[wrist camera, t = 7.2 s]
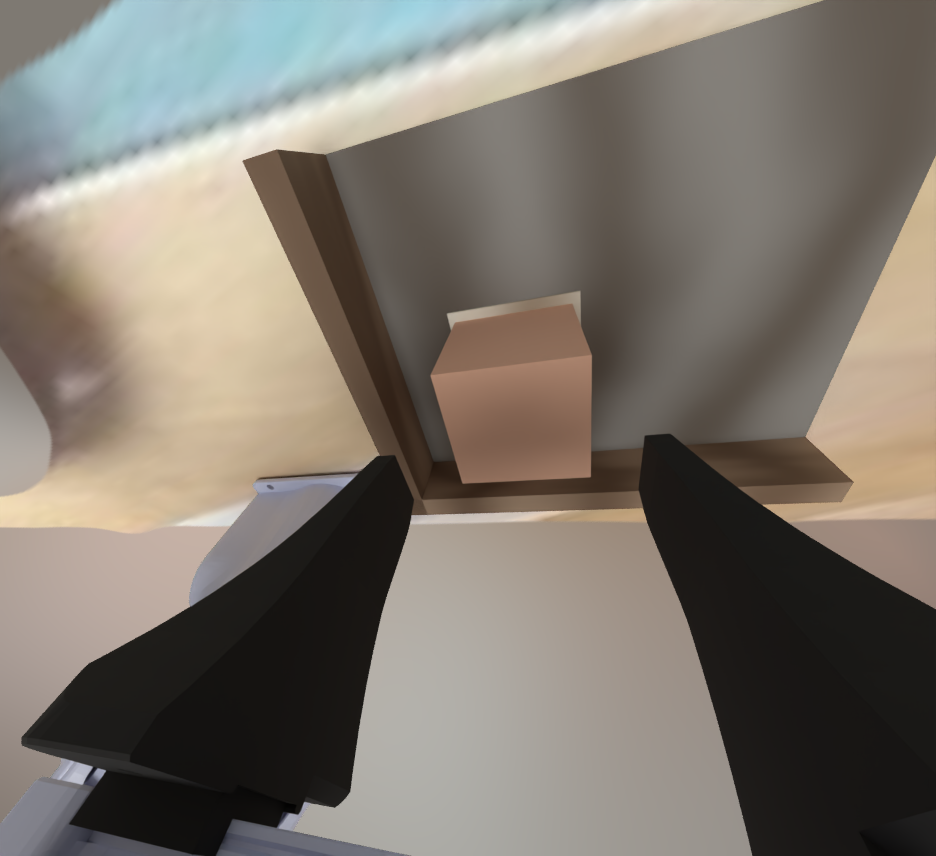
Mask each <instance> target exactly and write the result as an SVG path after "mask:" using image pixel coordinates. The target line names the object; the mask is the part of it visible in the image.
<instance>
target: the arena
mask: <svg viewBox="0 0 936 856" xmlns="http://www.w3.org/2000/svg"><path fill="white" fill-rule="evenodd" d="M935 156H936V0H824V1H821V2H817V3H814V4H811V5H808V6H804V7H801V8H798V9H795V10H792V11H788V12H785V13H782V14H779V15H775V16H772V17H769V18H766V19H762V20H759V21H756V22H753V23H750V24H746V25H743V26H740V27H737V28H733V29H730V30H727V31H724V32H720V33H717V34H714V35H711V36H708V37H704V38H701V39H698V40H695V41H691V42H688V43H685V44H682V45H678V46H675V47H672V48H669V49H666V50H662V51H659V52H656V53H653V54H649V55H646V56H643V57H640V58H636V59H633V60H630V61H627V62H624V63H620V64H617V65H614V66H611V67H607V68H604V69H601V70H598V71H594V72H591V73H588V74H585V75H582V76H578V77H575V78H572V79H569V80H565V81H562V82H559V83H556V84H552V85H549V86H546V87H543V88H540V89H536V90H533V91H530V92H527V93H523V94H520V95H517V96H514V97H510V98H507V99H504V100H501V101H498V102H494V103H491V104H488V105H485V106H481V107H478V108H475V109H472V110H468V111H465V112H462V113H459V114H456V115H452V116H449V117H446V118H443V119H439V120H436V121H433V122H430V123H426V124H423V125H420V126H417V127H414V128H410V129H407V130H404V131H401V132H397V133H394V134H391V135H388V136H384V137H381V138H378V139H375V140H372V141H368V142H365V143H362V144H359V145H355V146H352V147H349V148H346V149H342V150H339V151H336V152H333V153H330V154H326V155H324V154H314V153H305V152H295V151H286V150H274V151H271V152H268V153H265V154H261V155H258V156H255V157H252V158H249V159H246V160H243V163H244V165H245V167H246V170H247V172H248V174H249V176H250V178H251V180H252V182H253V185H254V187H255V189H256V191H257V193H258V195H259V197H260V200H261V202H262V204H263V206H264V208H265V210H266V212H267V215H268V217H269V219H270V221H271V223H272V225H273V227H274V230H275V232H276V234H277V236H278V238H279V240H280V242H281V245H282V247H283V249H284V251H285V253H286V255H287V257H288V260H289V262H290V264H291V266H292V268H293V270H294V272H295V274H296V277H297V279H298V281H299V283H300V285H301V287H302V289H303V292H304V294H305V296H306V298H307V300H308V302H309V304H310V307H311V309H312V311H313V313H314V315H315V317H316V319H317V322H318V324H319V326H320V328H321V330H322V332H323V334H324V337H325V339H326V341H327V343H328V345H329V347H330V349H331V352H332V354H333V356H334V358H335V360H336V362H337V364H338V367H339V369H340V371H341V373H342V375H343V377H344V379H345V382H346V384H347V386H348V388H349V390H350V392H351V394H352V397H353V399H354V401H355V403H356V405H357V407H358V409H359V412H360V414H361V416H362V418H363V420H364V422H365V424H366V427H367V429H368V431H369V433H370V435H371V437H372V439H373V442H374V444H375V446H376V448H377V450H378V452H379V454H380V456H387V455H395V456H396V459H397V461H398V463H399V466H400V468H401V470H402V472H403V475H404V477H405V479H406V482H407V484H408V486H409V489H410V491H411V493H412V496H413V498H414V503H413V509H412V515H434V514H466V513H499V512H532V511H564V510H597V509H630V508H643V505H642V501H641V498H640V494H639V490H638V488H639V480H640V471H641V463H642V454H643V446H644V437H645V435H657V434H671V435H673V436H674V437H675V438H676V439H678V440H679V441H680V442H681V443H683V444H684V445H685V446H686V447H687V448H689V449H690V450H691V451H692V452H694V453H695V454H696V455H697V456H698V457H700V458H701V459H702V460H703V461H705V462H706V463H707V464H708V465H710V466H711V467H712V468H713V469H715V470H716V471H717V472H718V473H720V474H721V475H722V476H723V477H725V478H726V479H727V480H729V481H730V482H731V483H733V484H734V485H735V486H737V487H738V488H739V489H741V490H742V491H743V492H745V493H746V494H747V495H749V496H750V497H751V498H753V499H754V500H756V501H757V502H758V503H760V504H793V503H826V502H842V500H843V499H844V497H845V495H846V494H847V492H848V491H849V489H850V488H851V486H852V484H853V483H854V482H853V481H852V480H851V479H850V478H849V477H848V476H847V475H846V474H844V473H843V472H842V471H841V470H840V469H839V468H838V467H837V466H836V465H835V464H834V463H833V462H832V461H830V460H829V459H828V458H827V457H826V456H825V455H824V454H823V453H822V452H821V451H820V450H819V449H818V448H816V447H815V446H814V445H813V444H812V443H811V442H810V441H809V440H808V439H807V438H806V437H805V436H806V434H807V432H808V430H809V428H810V425H811V423H812V421H813V419H814V417H815V415H816V413H817V410H818V408H819V406H820V404H821V402H822V400H823V397H824V395H825V393H826V391H827V389H828V387H829V384H830V382H831V380H832V378H833V376H834V374H835V372H836V369H837V367H838V365H839V363H840V361H841V359H842V356H843V354H844V352H845V350H846V348H847V346H848V344H849V341H850V339H851V337H852V335H853V333H854V331H855V328H856V326H857V324H858V322H859V320H860V318H861V315H862V313H863V311H864V309H865V307H866V305H867V303H868V300H869V298H870V296H871V294H872V292H873V290H874V287H875V285H876V283H877V281H878V279H879V277H880V274H881V272H882V270H883V268H884V266H885V264H886V262H887V259H888V257H889V255H890V253H891V251H892V249H893V246H894V244H895V242H896V240H897V238H898V236H899V233H900V231H901V229H902V227H903V225H904V223H905V221H906V218H907V216H908V214H909V212H910V210H911V208H912V205H913V203H914V201H915V199H916V197H917V195H918V193H919V190H920V188H921V186H922V184H923V182H924V180H925V177H926V175H927V173H928V171H929V169H930V167H931V164H932V162H933V160H934V158H935ZM566 304H573V307H574V309H575V312H576V315H577V317H578V320H579V322H580V325H581V328H582V330H583V333H584V336H585V338H586V341H587V344H588V346H589V349H590V351H591V354H592V396H591V477H586V478H566V479H546V480H525V481H505V482H485V483H465V484H463V483H462V480H461V477H460V473H459V470H458V467H457V463H456V460H455V456H454V453H453V450H452V446H451V443H450V440H449V436H448V433H447V430H446V426H445V423H444V420H443V416H442V413H441V409H440V406H439V403H438V399H437V396H436V393H435V389H434V386H433V383H432V379H431V376H430V375H431V373H432V371H433V369H434V367H435V364H436V362H437V360H438V358H439V356H440V354H441V352H442V349H443V347H444V345H445V343H446V341H447V339H448V337H449V334H450V332H451V330H452V328H453V326H454V324H455V322H461V321H467V320H473V319H479V318H486V317H492V316H498V315H504V314H510V313H516V312H523V311H529V310H535V309H541V308H547V307H554V306H560V305H566Z"/></svg>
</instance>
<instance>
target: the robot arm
mask: <svg viewBox="0 0 936 856" xmlns="http://www.w3.org/2000/svg"><path fill="white" fill-rule="evenodd" d="M253 487H254V489H255V490H256V491H257V493H258V495H257V496H256V497H255V498H254V499H253V501H252V502H251V503H250V504H249V505H248V506H247V508H246V509H245V510H244V511H243V512H242V514H241V515H240V516H239V517H238V518H237V520H236V521H235V522H234V523H233V524H232V526H231V527H230V528H229V529H228V531H227V532H226V533H225V534H224V535H223V537H222V538H221V539H220V540H219V541H218V542H217V544H216V545H215V546H214V547H213V549H212V550H211V551H210V552H209V553H208V554H207V556H206V557H205V558H204V560H203V561H202V563H201V564H200V566H199V568H198V569H197V571H196V574H195V576H194V578H193V582H192V585H191V589H190V596H189V603H190V607H189V608H187V609H186V610H184V611H182V612H181V613H179V614H177V615H176V616H174V617H172V618H171V619H169V620H167V621H166V622H164V623H162V624H160V625H159V626H157V627H155V628H154V629H152V630H150V631H148V632H146V633H145V634H143V635H141V636H139V637H137V638H135V639H134V640H132V641H130V642H128V643H126V644H125V645H123V646H121V647H119V648H117V649H115V650H114V651H112V652H110V653H108V654H106V655H104V656H103V657H101V658H99V659H97V660H95V661H93V662H91V663H89V664H88V665H87V666H86V667H85V668H84V669H83V670H82V671H81V672H80V673H79V674H78V675H77V676H76V677H75V678H74V679H73V681H72V682H71V683H70V684H69V685H68V686H67V687H66V689H65V690H64V691H63V692H62V693H61V694H60V695H59V696H58V697H57V698H56V700H55V701H54V702H53V703H52V704H51V705H50V706H49V707H48V709H47V710H46V711H45V712H44V713H43V714H42V715H41V716H40V717H39V719H38V720H37V721H36V722H35V723H34V724H33V725H32V726H31V727H30V729H29V730H28V731H27V732H26V733H25V734H24V735H23V736H22V741H21V742H22V746H25V747H28V748H30V749H33V750H36V751H39V752H43V753H46V754H49V755H53V756H56V757H60V758H62V759H61V765H60V766H59V767H58V768H57V770H56V771H55V772H54V773H53V775H52V776H51V777H50V778H48V777H41V778H39V779H37V780H36V781H35V782H34V783H33V784H32V785H31V786H30V788H29V789H28V790H27V792H26V793H25V794H24V795H23V796H22V798H21V799H20V800H19V801H18V803H17V804H16V805H15V806H14V808H13V809H12V810H11V811H10V812H9V814H8V815H7V816H6V817H5V819H4V820H3V821H2V822H1V824H0V856H409V855H404V854H399V853H394V852H389V851H384V850H380V849H375V848H370V847H365V846H361V845H356V844H351V843H346V842H342V841H336V840H332V839H327V838H322V837H317V836H313V835H308V834H303V833H298V832H293V830H294V828H295V827H296V825H297V823H298V821H299V820H300V818H301V817H302V815H303V813H304V812H305V810H306V809H307V808H308V807H309V805H310V804H311V803H312V804H319V805H323V806H329V807H334V808H335V807H336V806H338V805H339V804H340V803H341V802H342V801H343V800H344V799H345V798H346V797H347V795H348V794H349V793H350V789H351V781H352V773H353V766H354V759H355V752H356V745H357V738H358V731H359V725H360V719H361V713H362V708H363V702H364V696H365V690H366V684H367V679H368V674H369V669H370V665H371V660H372V655H373V650H374V645H375V641H376V636H377V632H378V627H379V623H380V619H381V614H382V611H383V607H384V604H385V600H386V597H387V594H388V591H389V588H390V584H391V582H392V578H393V576H394V573H395V570H396V566H397V564H398V561H399V558H400V554H401V552H402V549H403V545H404V542H405V539H406V536H407V533H408V529H409V525H410V520H411V515H412V509H413V503H414V498H413V496H412V493H411V491H410V489H409V486H408V484H407V482H406V479H405V477H404V475H403V472H402V470H401V468H400V466H399V463H398V461H397V459H396V456H395V455H387V456H377V457H376V458H375V459H374V460H372V461H371V462H370V463H369V464H368V465H367V466H366V467H365V468H364V469H363V470H362V471H360V472H359V473H356V474H340V475H324V476H308V477H293V478H277V479H261V480H256V481H255V482H254V483H253ZM638 490H639V494H640V498H641V501H642V505H643V509H644V513H645V516H646V520H647V523H648V526H649V528H650V531H651V533H652V536H653V538H654V540H655V543H656V545H657V548H658V550H659V552H660V555H661V557H662V560H663V562H664V564H665V567H666V569H667V571H668V574H669V576H670V579H671V581H672V584H673V586H674V588H675V591H676V593H677V595H678V598H679V600H680V603H681V605H682V608H683V611H684V613H685V616H686V618H687V621H688V624H689V627H690V630H691V634H692V636H693V640H694V643H695V647H696V650H697V653H698V656H699V660H700V663H701V666H702V669H703V673H704V676H705V679H706V683H707V686H708V690H709V693H710V697H711V700H712V703H713V707H714V710H715V713H716V717H717V721H718V724H719V728H720V731H721V735H722V739H723V743H724V746H725V750H726V753H727V757H728V761H729V765H730V768H731V772H732V775H733V780H734V784H735V788H736V792H737V796H738V799H739V803H740V807H741V811H742V815H743V819H744V823H745V826H746V831H747V835H748V839H749V843H750V847H751V851H752V856H936V609H934V608H932V607H930V606H929V605H927V604H925V603H923V602H921V601H920V600H918V599H916V598H914V597H912V596H910V595H909V594H907V593H905V592H903V591H901V590H899V589H898V588H896V587H894V586H892V585H890V584H888V583H887V582H885V581H883V580H881V579H879V578H878V577H875V576H874V575H872V574H870V573H869V572H867V571H865V570H864V569H861V568H860V567H858V566H857V565H855V564H853V563H851V562H850V561H848V560H847V559H845V558H843V557H841V556H840V555H838V554H837V553H835V552H833V551H832V550H830V549H828V548H827V547H825V546H823V545H822V544H820V543H819V542H817V541H815V540H814V539H812V538H810V537H809V536H807V535H806V534H804V533H803V532H801V531H799V530H798V529H796V528H795V527H793V526H792V525H790V524H789V523H787V522H786V521H784V520H783V519H782V518H780V517H779V516H777V515H776V514H774V513H773V512H771V511H770V510H768V509H767V508H766V507H764V506H763V505H761V504H760V503H758V502H757V501H756V500H754V499H753V498H751V497H750V496H749V495H747V494H746V493H745V492H743V491H742V490H741V489H739V488H738V487H737V486H735V485H734V484H733V483H731V482H730V481H729V480H727V479H726V478H725V477H723V476H722V475H721V474H720V473H718V472H717V471H716V470H715V469H713V468H712V467H711V466H710V465H708V464H707V463H706V462H705V461H703V460H702V459H701V458H700V457H698V456H697V455H696V454H695V453H694V452H692V451H691V450H690V449H689V448H687V447H686V446H685V445H684V444H683V443H681V442H680V441H679V440H678V439H676V438H675V437H674V436H673V435H671V434H657V435H645V437H644V446H643V454H642V463H641V471H640V480H639V488H638Z"/></svg>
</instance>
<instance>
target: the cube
mask: <svg viewBox="0 0 936 856" xmlns="http://www.w3.org/2000/svg"><path fill="white" fill-rule="evenodd" d="M430 376H431V379H432V383H433V386H434V389H435V393H436V396H437V399H438V403H439V406H440V409H441V413H442V416H443V420H444V423H445V426H446V430H447V433H448V436H449V440H450V443H451V446H452V450H453V453H454V456H455V460H456V463H457V467H458V470H459V473H460V477H461V480H462V483H463V484H465V483H485V482H505V481H525V480H546V479H566V478H586V477H591V396H592V354H591V351H590V349H589V346H588V344H587V341H586V338H585V336H584V333H583V330H582V328H581V325H580V322H579V320H578V317H577V315H576V312H575V309H574V307H573V304H566V305H560V306H554V307H547V308H541V309H535V310H529V311H523V312H516V313H510V314H504V315H498V316H492V317H486V318H479V319H473V320H467V321H461V322H455V324H454V326H453V328H452V330H451V332H450V334H449V337H448V339H447V341H446V343H445V345H444V347H443V349H442V352H441V354H440V356H439V358H438V360H437V362H436V364H435V367H434V369H433V371H432V373H431V375H430Z"/></svg>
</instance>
